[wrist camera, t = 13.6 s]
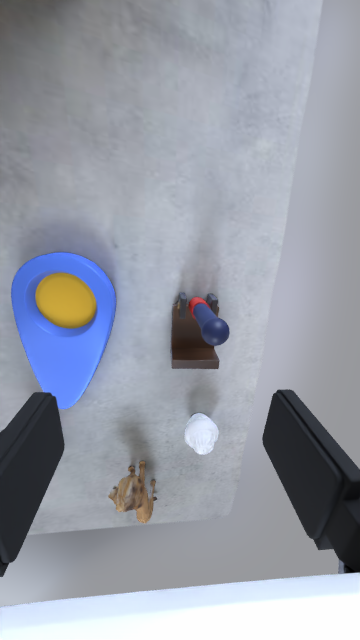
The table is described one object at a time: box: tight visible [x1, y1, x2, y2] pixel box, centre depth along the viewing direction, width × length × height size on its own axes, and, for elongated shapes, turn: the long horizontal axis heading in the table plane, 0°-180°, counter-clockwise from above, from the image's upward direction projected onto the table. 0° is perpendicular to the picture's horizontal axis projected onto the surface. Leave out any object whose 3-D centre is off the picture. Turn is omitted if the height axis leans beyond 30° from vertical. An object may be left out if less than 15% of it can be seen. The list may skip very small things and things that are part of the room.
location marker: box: [11, 252, 116, 409], centre depth 34 cm, size 13×3×25 cm
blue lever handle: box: [188, 297, 229, 346], centre depth 27 cm, size 14×3×3 cm
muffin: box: [184, 413, 219, 455], centre depth 40 cm, size 6×6×7 cm
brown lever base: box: [171, 293, 219, 369], centre depth 34 cm, size 10×7×5 cm
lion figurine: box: [108, 461, 157, 523], centre depth 43 cm, size 15×5×9 cm, turn 24°
